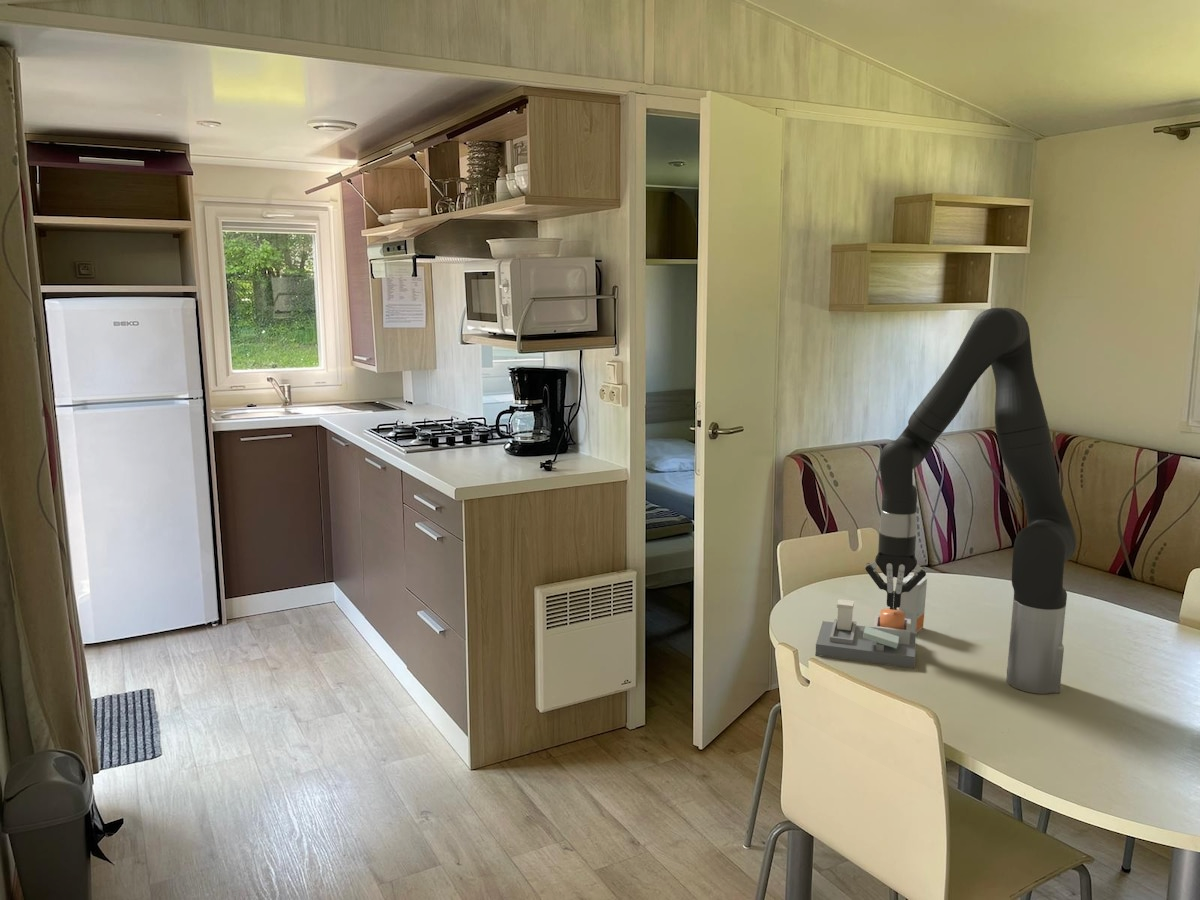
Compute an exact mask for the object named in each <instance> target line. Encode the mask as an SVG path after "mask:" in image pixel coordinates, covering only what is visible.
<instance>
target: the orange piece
mask: <svg viewBox="0 0 1200 900" xmlns="http://www.w3.org/2000/svg"><path fill="white" fill-rule="evenodd" d="M904 620H905V613H904V612H903V611H901V610H899V608H898V609H897V610H891V609H890V607H888V608H887V607H886V608H882V609H881V610H880V627H888V628H896V629H904Z"/></svg>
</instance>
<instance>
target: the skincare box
mask: <svg viewBox="0 0 1200 900" xmlns="http://www.w3.org/2000/svg"><path fill="white" fill-rule="evenodd" d="M913 576H914V575H910V574H909V575H908V576H906V577H905V578H903V584H902V585H904V584H906V583H907V582H908V581H909V580H910V579H911V578H912V577H913ZM927 584H928V578H925V577H924V578H923V579H922V580H921V581H920V582H919V583H918V584H917V585H916V586H915V587H914V588H913V589H911V590H910V591H909V592H903V593H902V594H901V603H900V607H899V608H898V610H901V611H903V612H904V613H905V619H911V626H910V632H916V634H918V632H919V631H921V630H922V629H923V628H924V623H925V608H926V598H927V587H928V586H927Z"/></svg>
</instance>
